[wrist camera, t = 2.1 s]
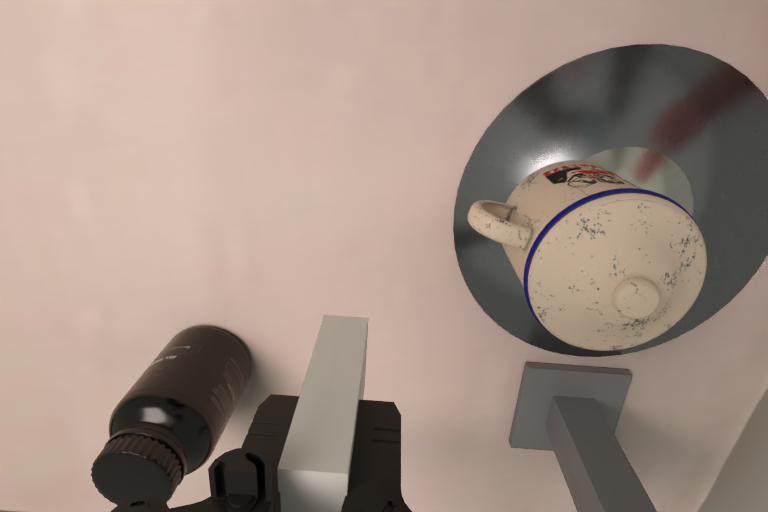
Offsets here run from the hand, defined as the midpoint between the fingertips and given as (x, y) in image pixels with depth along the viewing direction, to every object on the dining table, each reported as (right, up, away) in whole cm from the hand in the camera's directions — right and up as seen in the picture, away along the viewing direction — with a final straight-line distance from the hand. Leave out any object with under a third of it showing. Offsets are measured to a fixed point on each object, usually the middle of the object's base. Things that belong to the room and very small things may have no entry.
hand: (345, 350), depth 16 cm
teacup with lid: (+12, +6, +16) cm, 21 cm away
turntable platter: (+17, +6, +16) cm, 24 cm away
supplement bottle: (-13, -5, +22) cm, 26 cm away
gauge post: (+16, -9, +22) cm, 29 cm away
